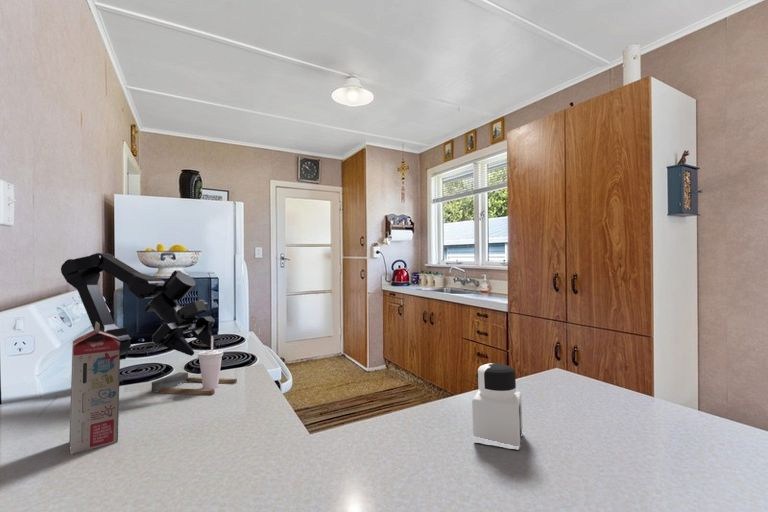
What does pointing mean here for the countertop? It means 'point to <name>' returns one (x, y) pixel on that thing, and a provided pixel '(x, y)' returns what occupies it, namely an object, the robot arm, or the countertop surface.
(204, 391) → the guide track
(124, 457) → the countertop surface
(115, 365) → the juice carton
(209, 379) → the smoothie
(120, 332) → the robot arm
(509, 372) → the container
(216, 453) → the countertop surface
